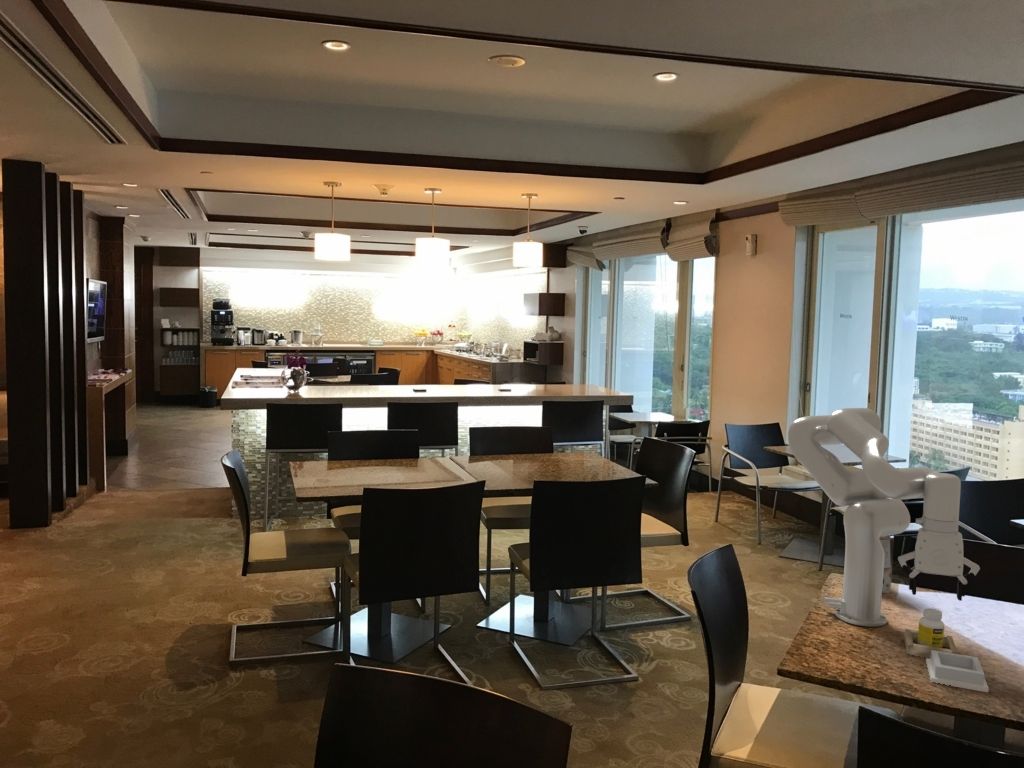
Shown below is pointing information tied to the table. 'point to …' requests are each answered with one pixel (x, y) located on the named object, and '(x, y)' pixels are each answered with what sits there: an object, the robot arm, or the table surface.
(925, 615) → the supplement bottle
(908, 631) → the beige square frame
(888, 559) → the coffee box
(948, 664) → the socket
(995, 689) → the table surface
